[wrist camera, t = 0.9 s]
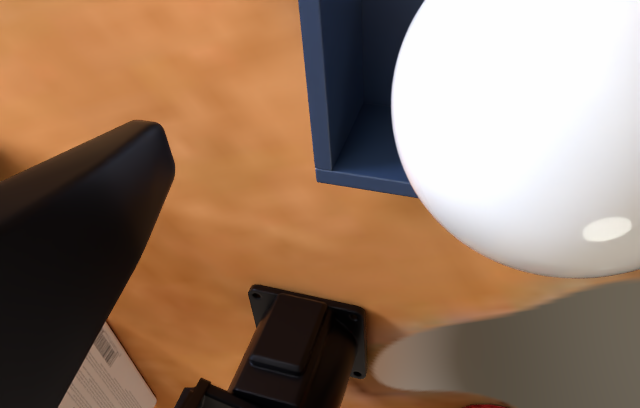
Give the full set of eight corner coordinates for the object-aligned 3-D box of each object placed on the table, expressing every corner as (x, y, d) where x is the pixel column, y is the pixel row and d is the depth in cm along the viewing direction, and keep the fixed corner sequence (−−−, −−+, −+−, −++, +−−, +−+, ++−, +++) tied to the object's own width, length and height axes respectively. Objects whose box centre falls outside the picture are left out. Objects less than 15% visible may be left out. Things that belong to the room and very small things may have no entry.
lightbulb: (513, 78, 19) (465, 369, 12) (415, -102, 17) (272, 130, 9) (746, -14, 16) (887, 327, 8) (668, -267, 13) (773, -101, 5)
